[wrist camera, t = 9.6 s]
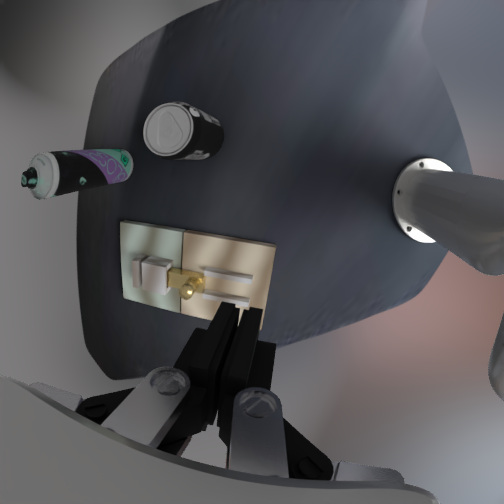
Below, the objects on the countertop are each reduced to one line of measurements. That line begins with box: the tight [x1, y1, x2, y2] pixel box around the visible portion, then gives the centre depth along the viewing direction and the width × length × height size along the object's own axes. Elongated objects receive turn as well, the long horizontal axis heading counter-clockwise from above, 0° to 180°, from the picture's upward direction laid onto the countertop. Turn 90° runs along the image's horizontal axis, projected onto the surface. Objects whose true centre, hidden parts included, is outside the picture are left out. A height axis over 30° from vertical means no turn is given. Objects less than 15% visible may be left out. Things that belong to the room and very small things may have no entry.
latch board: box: [120, 220, 276, 330], centre depth 41 cm, size 25×14×5 cm, turn 82°
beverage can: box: [143, 102, 224, 160], centre depth 31 cm, size 7×7×12 cm
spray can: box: [21, 149, 133, 199], centre depth 30 cm, size 6×6×20 cm
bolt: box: [167, 267, 206, 300], centre depth 40 cm, size 10×2×5 cm, turn 82°
